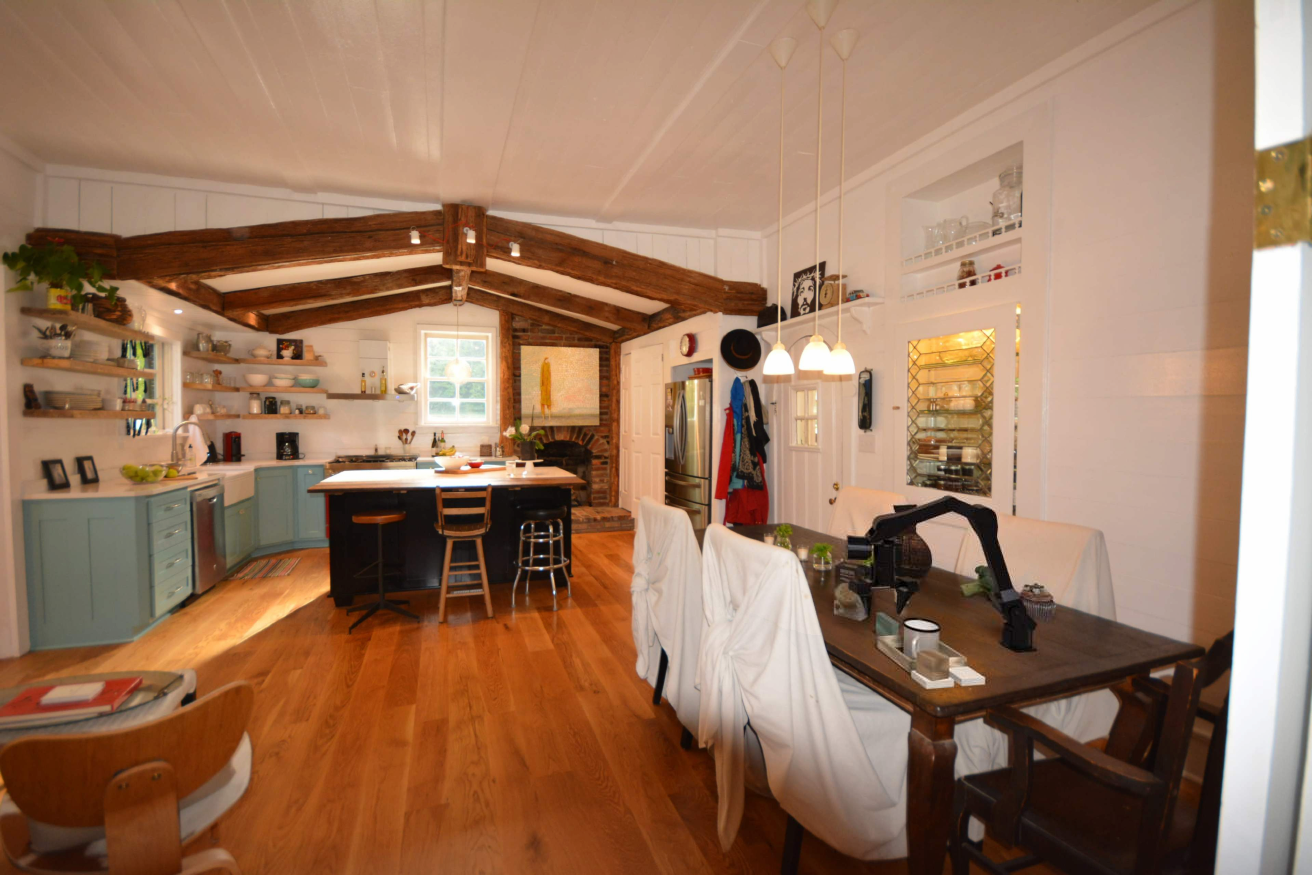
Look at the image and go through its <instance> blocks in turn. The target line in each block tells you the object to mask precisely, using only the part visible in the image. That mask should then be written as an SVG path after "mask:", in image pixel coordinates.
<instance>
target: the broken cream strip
mask: <svg viewBox="0 0 1312 875" xmlns="http://www.w3.org/2000/svg"><path fill="white" fill-rule="evenodd" d="M910 676H911V678H912V679H913V680H914V681H915V682H917V683H918V684H919V685H920V686H922V687H923V688H924V689H926V690H930V689H942V688H953V687H955V683H957V684H958V685H959V686H961V687H967V686H982V685H986V677H985V676H983V675H981V673H978V671H975V669H972V668H971V667H969V666H967V667H954V668H949V678H948V679H943V680H938V681H930V680H929V679H927V678H925V677H923V676H922V675H920V674H918V673H916V670H914V671H911V674H910Z"/></svg>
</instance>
